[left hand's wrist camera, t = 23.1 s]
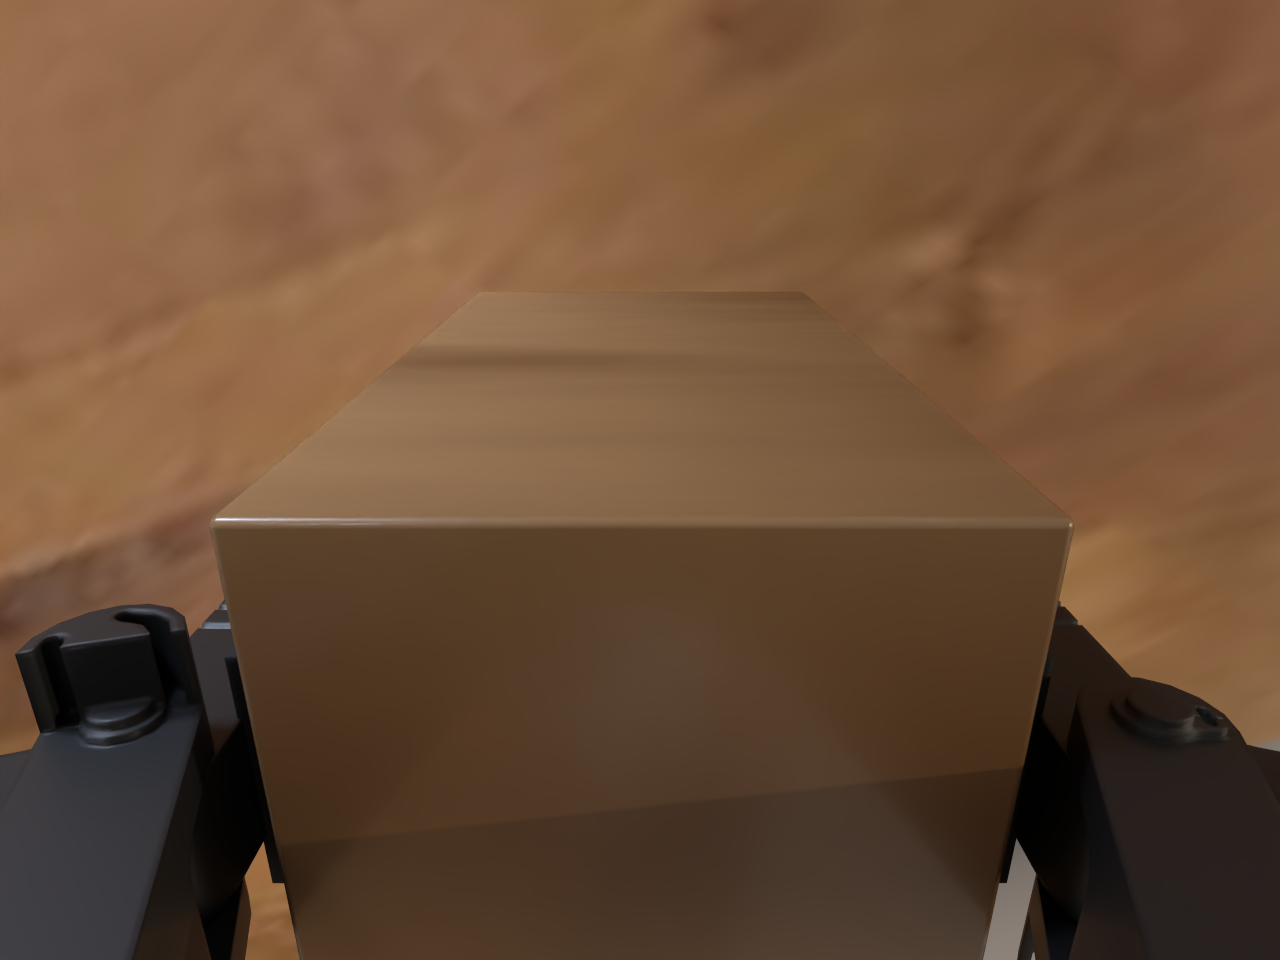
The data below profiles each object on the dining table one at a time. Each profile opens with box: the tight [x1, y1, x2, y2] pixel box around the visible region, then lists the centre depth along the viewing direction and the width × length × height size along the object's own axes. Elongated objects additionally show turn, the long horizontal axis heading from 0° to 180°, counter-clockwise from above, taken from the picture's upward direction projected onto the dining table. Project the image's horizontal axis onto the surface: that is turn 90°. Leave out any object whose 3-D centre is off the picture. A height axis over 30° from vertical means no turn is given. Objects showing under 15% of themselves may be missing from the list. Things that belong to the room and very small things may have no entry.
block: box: [210, 292, 1074, 960], centre depth 12 cm, size 6×6×10 cm
